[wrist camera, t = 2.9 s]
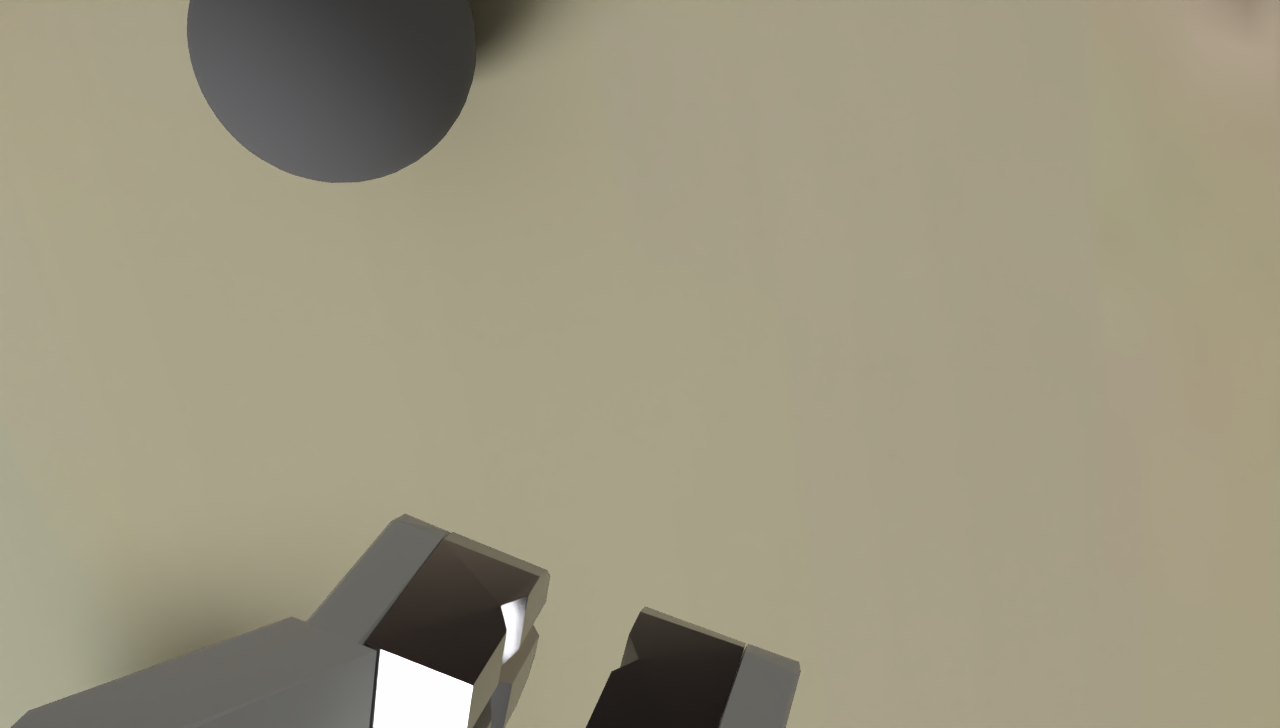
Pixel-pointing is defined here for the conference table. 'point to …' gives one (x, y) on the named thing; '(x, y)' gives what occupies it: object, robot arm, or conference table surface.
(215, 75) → the dark gray ball
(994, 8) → the conference table surface
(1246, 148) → the conference table surface
